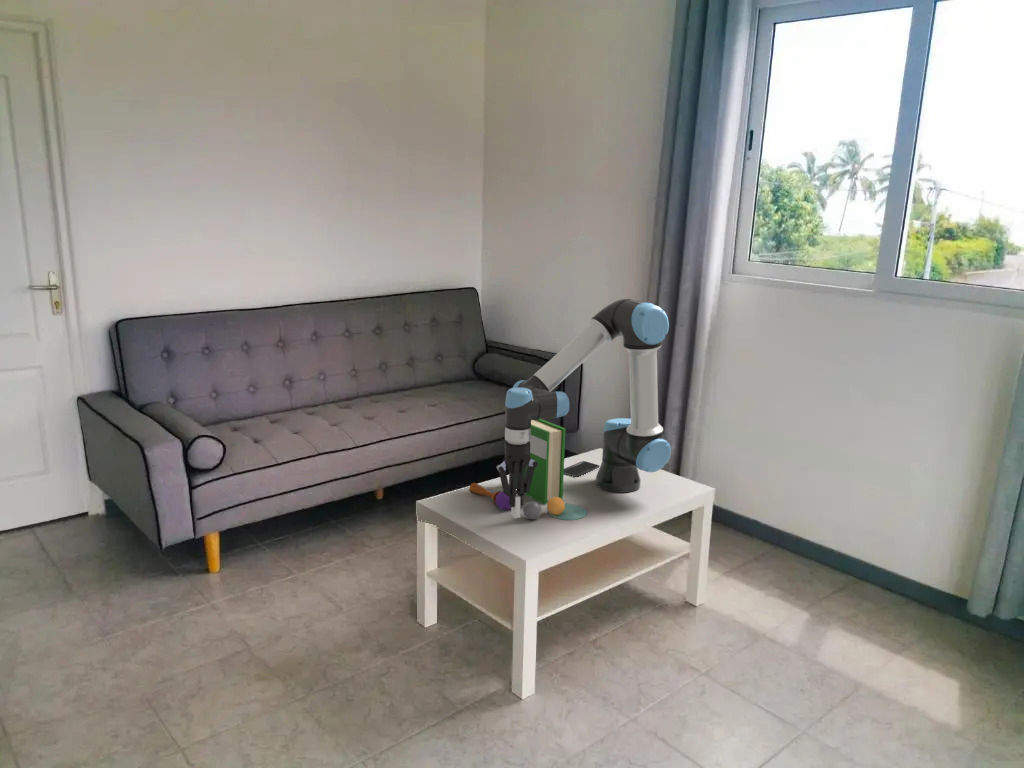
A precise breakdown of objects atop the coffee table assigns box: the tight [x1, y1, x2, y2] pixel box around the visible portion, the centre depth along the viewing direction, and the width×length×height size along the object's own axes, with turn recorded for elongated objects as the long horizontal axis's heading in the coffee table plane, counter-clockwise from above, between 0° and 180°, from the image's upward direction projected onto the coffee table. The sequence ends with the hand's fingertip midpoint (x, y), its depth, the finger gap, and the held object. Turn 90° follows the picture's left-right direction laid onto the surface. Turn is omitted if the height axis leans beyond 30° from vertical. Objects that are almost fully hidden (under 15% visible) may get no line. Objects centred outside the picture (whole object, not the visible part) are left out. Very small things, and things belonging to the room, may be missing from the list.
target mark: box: [547, 503, 588, 521], centre depth 233 cm, size 12×12×1 cm
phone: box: [564, 460, 601, 478], centre depth 270 cm, size 8×1×15 cm
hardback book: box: [516, 419, 567, 505], centre depth 245 cm, size 18×7×24 cm, turn 36°
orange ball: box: [546, 497, 566, 515], centre depth 231 cm, size 6×6×6 cm
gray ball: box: [522, 500, 542, 520], centre depth 227 cm, size 6×6×6 cm
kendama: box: [469, 482, 512, 511], centre depth 240 cm, size 6×6×20 cm
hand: (515, 515), depth 225 cm, fingers closed
